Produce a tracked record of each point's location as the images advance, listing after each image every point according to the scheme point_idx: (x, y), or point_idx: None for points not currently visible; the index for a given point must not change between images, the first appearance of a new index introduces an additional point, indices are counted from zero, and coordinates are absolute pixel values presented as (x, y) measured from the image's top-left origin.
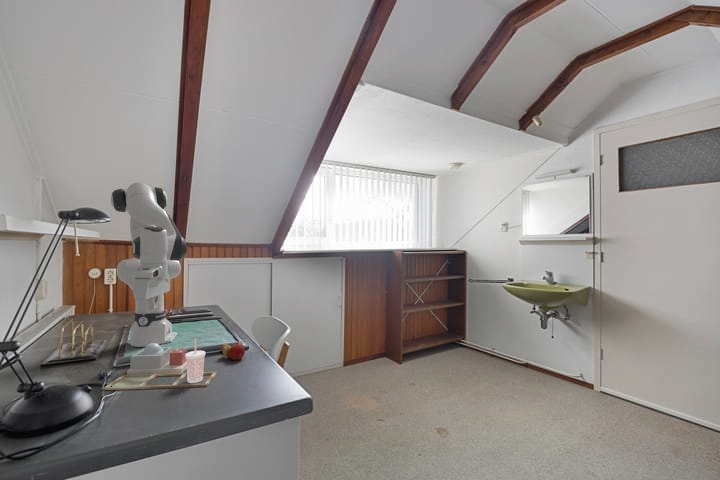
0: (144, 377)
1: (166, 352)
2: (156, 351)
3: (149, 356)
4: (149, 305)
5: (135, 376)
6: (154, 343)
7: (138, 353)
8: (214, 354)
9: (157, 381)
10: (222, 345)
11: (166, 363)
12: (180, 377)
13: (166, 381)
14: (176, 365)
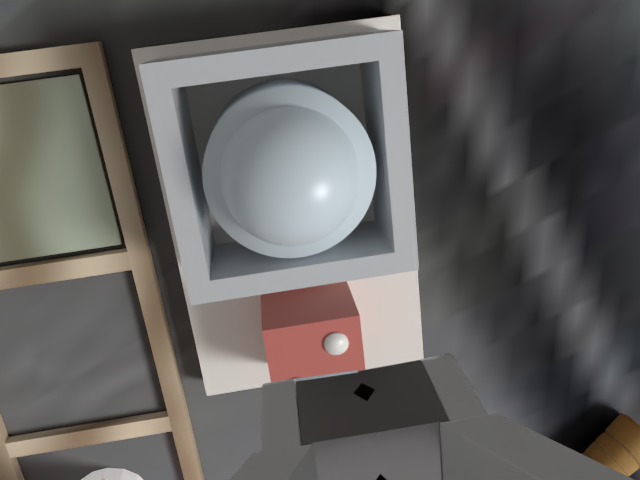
0: (97, 212)
1: (296, 285)
2: (254, 236)
3: (173, 222)
4: (265, 442)
5: (102, 141)
6: (296, 211)
7: (231, 79)
8: (542, 401)
9: (62, 321)
10: (630, 439)
11: None
12: (109, 431)
13: (71, 369)
14: (260, 335)
